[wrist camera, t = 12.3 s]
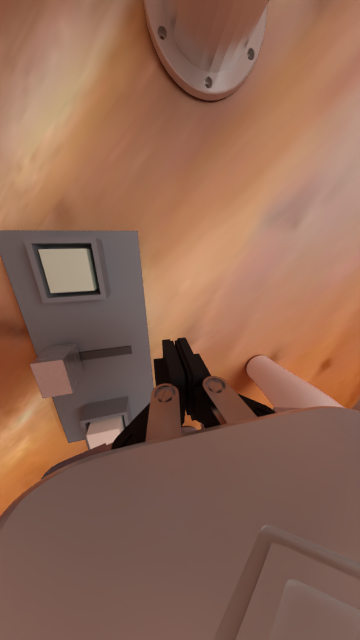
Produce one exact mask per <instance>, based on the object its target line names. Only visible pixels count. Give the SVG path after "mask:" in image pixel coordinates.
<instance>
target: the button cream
mask: <svg viewBox="0 0 360 640" xmlns="http://www.w3.org/2000/svg"><path fill="white" fill-rule="evenodd" d="M124 429H125V426H124V421H123V415H122V416H117V417H113V418H108V419H103V420H98V421H93V422H90V425H89V429H88V432H87V435H86V436H87V440H88V443H89V446H90V449H92V448H95V447H97V446H99V445H102V444H104V443H106V445H108V444H110V443H112V442H114V440H115V439H116V437H117V436H118V435H119V434H120V433H121V432H122V431H123V430H124Z"/></svg>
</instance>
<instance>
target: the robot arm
mask: <svg viewBox="0 0 360 640" xmlns="http://www.w3.org/2000/svg"><path fill="white" fill-rule="evenodd" d="M143 1H144V10H145V16H146V21H147V26H148V30H149V33H150V36H151V39H152V42H153V45H154V48H155V50H156V52H157V54H158V56H159V59H160V61H161V62H162V64H163V66H164V67H165V69H166V70H167V72H168V74H169V75H170V76H171V77H172V78H173V80H174V81H175V82H176V83H177V84H178V85H179V86H180V87H181V88H182V89H184V90H185V91H186V92H187V93H189V94H191V95H193V96H195V97H196V98H199V99H203V100H208V101H209V100H219V99H222V98H225V97H228V96H229V95H231V94H232V93H234V92H235V91H236V90H237V89H238V88H239V87H240V86H241V85H242V84H243V82H244V81H245V79H246V78H247V76H248V74H249V73H250V71H251V69H252V68H253V66H254V64H255V62H256V60H257V57H258V55H259V52H260V49H261V46H262V42H263V37H264V32H265V27H266V16H267V3H268V1H269V0H143ZM162 346H163V358H160V359H154V371H155V381H156V387H155V388H154V389H153V391H152V393H151V400H150V403H149V404H148V405H147V406H146V407H145V408H144V409H143V410H142V411H141V412H140V413H139V414H138V415H137V416H136V417H135V418H134V419H133V420H132V421H131V423H130V424H129V425H128V426H127V427H126V428H125V429H124V430H123V431H122V432H121V433H120V434H119V435H118V436H117V437H116V439H115V440H114V442H112V443H110V444H108V445H106V443H104V444H102V445H99V446H97V447H95V448H92V449H90V450H88V451H85V452H83V453H81V454H79V455H76V456H74V457H72V458H69V459H67V460H65V461H62V462H60V463H58V464H56V465H55V466H53V467H52V468H50V469H49V470H48V471H47V472H46V473H45V474H44V476H43V477H42V478H41V480H40V481H38V482H37V483H35V484H34V485H33V486H31V487H30V488H29V489H27V490H26V491H25V492H23V493H22V494H21V495H20V496H19V497H18V498H17V499H15V500H14V501H13V502H12V503H11V504H10V505H9V507H8V508H7V509H6V510H5V511H4V512H3V514H2V515H1V516H0V640H360V411H357V410H353V409H349V408H343V407H336V406H316V407H308V408H280V407H273V410H272V409H271V408H269V407H267V406H266V405H263V404H261V403H259V402H256V401H254V400H251V399H249V398H247V397H244V396H242V395H240V394H237V393H236V392H235V391H234V390H233V388H232V387H231V386H230V385H229V384H228V383H227V382H226V381H225V380H224V379H222V378H221V377H217V376H211V375H210V373H209V371H208V369H207V368H206V366H205V364H204V362H203V360H202V359H201V357H200V355H199V354H193V352H192V350H191V348H190V346H189V344H188V342H187V340H186V338H178V339H177V340H176V341H175V345H174V342H173V341H170V339H167V340H162ZM185 409H186V413H187V415H190V416H191V419H192V421H193V420H197V421H198V422H200V426H201V429H200V430H196V431H191V432H187V433H182V434H181V427H182V425H183V423H184V416H185Z"/></svg>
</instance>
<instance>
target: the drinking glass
mask: <svg viewBox="0 0 360 640" xmlns="http://www.w3.org/2000/svg"><path fill="white" fill-rule="evenodd" d="M246 372H247V374H248V376H249V377H250V378H251V379H252V380H253V381H254V382H255V384H256V385H257V386H258V387H259V389H260V390H261V391H262V392H263V394H264V395H265V396H266V397H267V399H268V400H269V401H270V402H271V404H272V405H273V406H274V407H280V408H308V407H316V406H336V407H343V406H342V405H340V404H339V403H338V402H336V401H335V400H334V399H332V398H331V397H329V396H328V395H327V394H325V393H324V392H322V391H321V390H319V389H317V388H316V387H314V386H313V385H311V384H309V383H308V382H306V381H304V380H303V379H301V378H300V377H298V376H296V375H295V374H293V373H291V372H290V371H288V370H286V369H285V368H283V367H282V366H280V365H278V364H277V363H275V362H274V361H272V360H271V359H269V358H268V357H266V356H264V355H258V356H255V357H254V358H252V359H251V360H250V361H249V362H248V364H247V367H246ZM343 408H344V407H343Z"/></svg>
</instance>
